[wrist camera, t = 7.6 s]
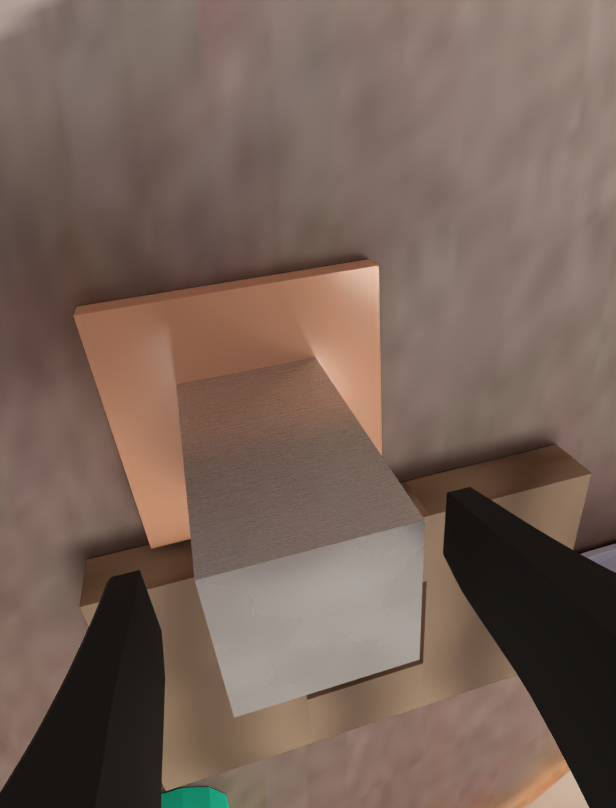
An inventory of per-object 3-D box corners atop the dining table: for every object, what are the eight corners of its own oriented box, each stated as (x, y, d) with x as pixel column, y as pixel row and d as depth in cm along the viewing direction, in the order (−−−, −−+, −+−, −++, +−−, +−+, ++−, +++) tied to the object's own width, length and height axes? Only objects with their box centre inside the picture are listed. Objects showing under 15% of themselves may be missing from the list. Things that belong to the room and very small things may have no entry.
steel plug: (315, 357, 17) (424, 520, 10) (325, 467, 19) (419, 659, 12) (176, 384, 16) (194, 580, 9) (203, 495, 18) (234, 717, 12)
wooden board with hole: (555, 444, 23) (591, 473, 21) (520, 630, 30) (545, 665, 28) (86, 559, 19) (79, 607, 18) (164, 742, 26) (165, 791, 24)
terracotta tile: (369, 259, 17) (378, 265, 16) (375, 479, 21) (382, 491, 21) (76, 306, 15) (73, 315, 14) (151, 533, 20) (151, 548, 19)
